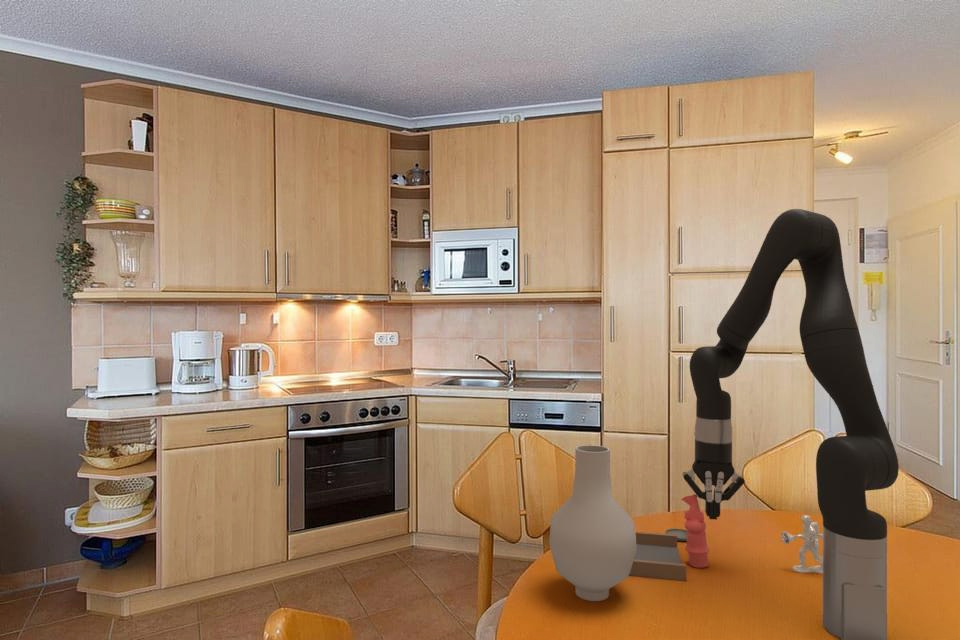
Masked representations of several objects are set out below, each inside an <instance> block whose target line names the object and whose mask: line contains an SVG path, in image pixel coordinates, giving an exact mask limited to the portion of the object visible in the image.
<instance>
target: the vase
mask: <svg viewBox="0 0 960 640" xmlns="http://www.w3.org/2000/svg"><path fill="white" fill-rule="evenodd" d="M574 457H575V460H574V461H575V463H574V467H575V468H574V469H575V470H574V478H573V484H572V491H571V492H572V493H571V496H570V497H569V498H568V499H567V500H566V501H565V502H564V503H563V504H562V505H561V506H560V507H559V508H558V509H557V510H556V511H555V512H554V514H552V516H550V526H549V528H550V529H549V540H548V541H549V548H550V552H551V556H552V559H553V563H554V566H555V570H556V571H557V573H558V574H559V575H560V577H562V578H563V579H565V580H567V581H568V583H570V584H572V585H573V586H574V587H575V589H574V590H575V595H576V596H577V597H578V598H580V599H581V600H585V601H590V602H600V601H604V600H606V599H608V598H609V596H610V589H612V588H614V587H615V586H616V585H618V584H620V583H621V582H623V581H626V580H627V579H628V577H629V576H630V575H629V574H630V570H631V567H632V564H633V560H634V557H635V554H636V550H637V546H636V532H637V530H636V524H635V522H634V520H633V518H631V516H630V515H629V514H628V513H627V511H625V509H623V507H622V506H621V505H620V504H619V503H618V501H616V499H615V498H614V495H613V488H612V481H611V480H612V479H611V450H610V448H609V447H608V446H607V447H606V446H603V445H592V444H588V445H587V444H585V445H578V446H575V456H574Z"/></svg>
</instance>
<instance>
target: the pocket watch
mask: <svg viewBox="0 0 960 640" xmlns="http://www.w3.org/2000/svg"><path fill="white" fill-rule="evenodd" d="M664 534H673V535H677V542H679V541H680V542H687V529H682V528H669V529H666V530H665V532H664Z"/></svg>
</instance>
